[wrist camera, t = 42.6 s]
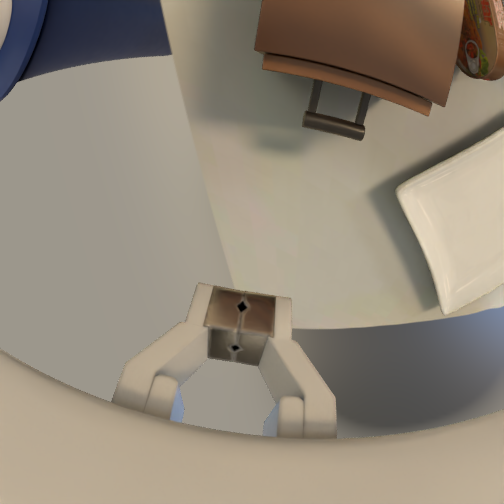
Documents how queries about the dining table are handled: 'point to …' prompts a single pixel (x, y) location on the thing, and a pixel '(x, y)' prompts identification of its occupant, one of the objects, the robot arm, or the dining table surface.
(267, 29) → the cabinet
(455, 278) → the square plate
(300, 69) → the drawer
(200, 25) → the dining table surface
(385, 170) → the dining table surface
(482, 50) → the tin
